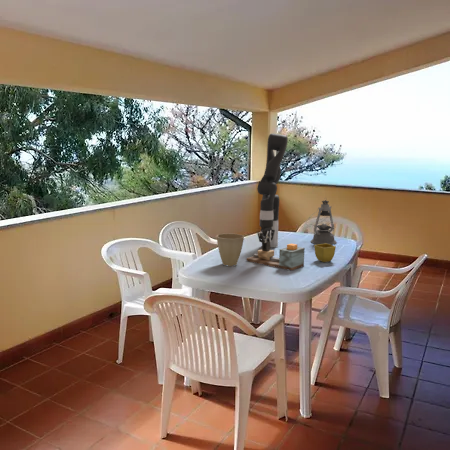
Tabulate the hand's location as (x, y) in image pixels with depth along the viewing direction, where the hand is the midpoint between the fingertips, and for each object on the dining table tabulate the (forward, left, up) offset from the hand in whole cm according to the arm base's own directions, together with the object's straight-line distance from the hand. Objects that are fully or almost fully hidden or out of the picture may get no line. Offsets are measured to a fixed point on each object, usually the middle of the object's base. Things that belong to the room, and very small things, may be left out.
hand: (265, 248), depth 257 cm
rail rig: (+6, 0, -7) cm, 10 cm away
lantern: (-2, +67, -8) cm, 67 cm away
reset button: (+17, 0, +2) cm, 17 cm away
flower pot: (+24, +23, -8) cm, 34 cm away
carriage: (0, 0, -6) cm, 6 cm away
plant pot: (-11, -18, -8) cm, 22 cm away
